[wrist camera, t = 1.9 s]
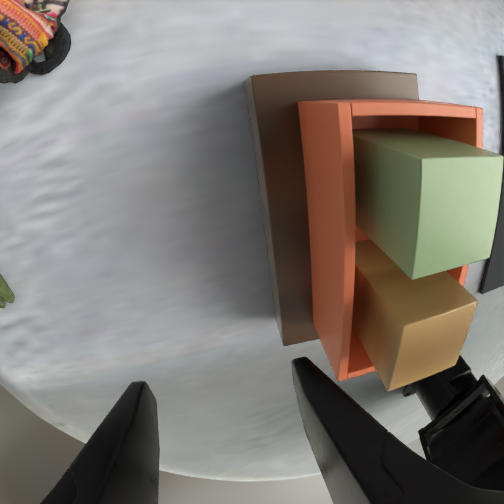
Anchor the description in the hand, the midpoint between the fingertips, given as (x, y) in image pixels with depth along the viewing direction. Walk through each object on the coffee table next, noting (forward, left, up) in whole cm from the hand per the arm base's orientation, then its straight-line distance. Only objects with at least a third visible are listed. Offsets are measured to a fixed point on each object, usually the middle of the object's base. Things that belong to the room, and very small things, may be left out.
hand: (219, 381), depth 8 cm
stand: (0, -8, -12) cm, 14 cm away
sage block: (+3, -9, -8) cm, 12 cm away
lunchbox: (0, -9, -9) cm, 12 cm away
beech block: (-3, -9, -8) cm, 12 cm away
